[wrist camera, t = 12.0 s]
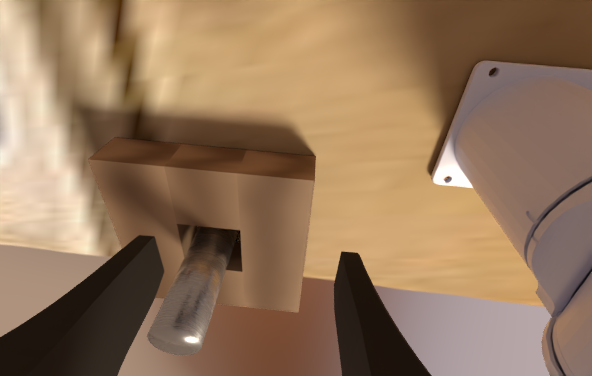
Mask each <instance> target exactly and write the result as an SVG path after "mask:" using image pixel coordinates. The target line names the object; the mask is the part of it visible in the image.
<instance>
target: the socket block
mask: <svg viewBox="0 0 592 376" xmlns="http://www.w3.org/2000/svg"><path fill="white" fill-rule="evenodd" d="M315 160H316V156H307V155H297V154H286V153H275V152H265V151H254V150H243V149H232V148H222V147H211V146H200V145H190V144H179V143H168V142H157V141H147V140H136V139H125V138H114V139H112V140H111V141H110V142H109V143H107V144H106V145H105V146H104V147H103V148H101V149H100V150H99V151H98V152H96V153H95V154H94V155H93V156H91V157H90V158H89V159H88V161H89V164H90V166H91V169H92V171H93V174H94V176H95V179H96V182H97V184H98V187H99V189H100V192H101V195H102V197H103V200H104V202H105V205H106V207H107V210H108V213H109V215H110V218H111V220H112V223H113V226H114V228H115V231H116V233H117V236H118V239H119V241H120V244H121V246H122V249H123V248H124V247H125V246H126V245H127V244H129V243H130V242H131V241H132V240H133V239H135V238H136V237H137V236H138V235H145V236H155V239H156V243H157V246H158V250H159V253H160V257H161V260H162V264H163V267H164V274H163V277H162V280H161V283H160V286H159V289H158V291H157V294H156V297H155V298H164V299H165V297H166V295H167V293H168V291H169V289H170V287H171V285H172V283H173V280H174V278H175V276H176V274H177V272H178V270H179V268H180V266H181V264H182V262H183V260H184V257H185V255H186V253H187V251H188V249H189V247H190V245H191V243H192V241H193V239H194V237H195V234H196V232H197V226H203V227H213V228H223V229H233V230H240V235H241V243H235V244H234V247H233V250H232V253H231V256H230V259H229V263H228V266H227V269H226V272H225V275H224V278H223V281H222V284H221V287H220V291H219V294H218V297H217V300H216V303H215V304H222V305H232V306H242V307H252V308H261V309H270V310H281V311H290V312H298V311H299V303H300V296H301V287H302V280H303V271H304V263H305V255H306V247H307V239H308V231H309V223H310V215H311V207H312V199H313V191H314V182H315Z"/></svg>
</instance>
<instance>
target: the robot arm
mask: <svg viewBox="0 0 592 376" xmlns="http://www.w3.org/2000/svg"><path fill="white" fill-rule="evenodd" d="M495 67H496V71H495V73H494V74H492V75H489V72H490V70H491V69H493V68H495ZM447 176H450V177H449V178H448V179H445V180H444V178H445V177H447ZM431 179H432V181H433V183H435V184H438V185H448V186H459V187H470V188H474V189H475V191H476V192H477V193H478V195H479V196H480V198H481V199H482V201H483V202H484V204H485V205H486V207H487V208H488V209H489V211H490V212H491V214H492V215H493V217H494V218H495V220H496V221H497V222H498V224H499V225H500V227H501V228H502V230H503V231H504V233H505V234H506V235H507V237H508V238H509V240H510V241H511V243H512V244H513V246H514V247H515V248H516V250H517V251H518V253H519V254H520V256H521V257H522V259H523V260H524V261H525V263H526V264H527V266H528V267H529V268H530V270H531V271H532V273H533V274H534V276H535V277H536V279H537V280H538V289H537V291H536V294H537V295H538V297H539V298H540V300H541V301H542V303H543V304H544V306H545V307H546V309H547V310H548V312H549V313H550V314H551V316H552V318H551V319H550V320H549V322H548V323H547V325H546V327H545V329H544V331H543V337H542V352H543V357H544V360H545V364H546V367H547V369H548V372H549V374H550V376H592V69H580V68H568V67H557V66H545V65H534V64H522V63H510V62H499V61H487V60H485V61H481V62H479V63H477V64H476V65H475V67H474V68H473V70H472V73H471V75H470V78H469V81H468V83H467V86H466V88H465V91H464V93H463V96H462V98H461V101H460V104H459V106H458V109H457V111H456V114H455V116H454V119H453V121H452V124H451V127H450V129H449V132H448V134H447V137H446V139H445V142H444V144H443V147H442V150H441V152H440V155H439V157H438V160H437V162H436V165H435V167H434V170H433V173H432V175H431ZM163 274H164V267H163V264H162V260H161V257H160V253H159V250H158V246H157V243H156V239H155V236H145V235H138V236H137V237H136V238H135V239H133V240H132V241H131V242H130V243H129V244H127V245H126V246H125V247H124V248H123V249H121V250H120V251H119V252H118V253H117V254H115V255H114V256H113V257H112V258H111V259H110V260H108V261H107V262H106V263H105V264H103V265H102V266H101V267H100V268H98V269H97V270H96V271H95V272H94V273H93V274H91V275H90V276H89V277H87V278H86V279H85V280H84V281H82V282H81V283H80V284H78V285H77V286H76V287H74V288H73V289H72V290H70V291H69V292H68V293H67V294H65V295H64V296H62V297H61V298H60V299H58V300H57V301H56V302H54V303H53V304H51V305H50V306H49V307H47V308H46V309H44V310H43V311H41V312H40V313H38V314H37V315H35V316H34V317H32V318H31V319H29V320H28V321H26V322H25V323H23V324H21V325H20V326H18V327H17V328H15V329H14V330H12V331H10V332H8V333H7V334H5V335H3V336H2V337H0V376H117V375H118V372H119V370H120V367H121V365H122V363H123V361H124V359H125V356H126V354H127V352H128V350H129V348H130V346H131V344H132V342H133V340H134V338H135V336H136V334H137V332H138V330H139V329H140V326H141V325H142V323H143V321H144V319H145V317H146V315H147V313H148V311H149V309H150V307H151V305H152V303H153V301H154V299H155V297H156V294H157V291H158V289H159V286H160V283H161V280H162V277H163ZM334 310H335V320H336V327H337V336H338V344H339V352H340V360H341V368H342V376H431V374H430V373H429V372H428V371H427V369H426V368H425V366H424V365H423V364H422V362H421V361H420V360H419V359H418V357H417V356H416V354H415V353H414V351H413V350H412V349H411V347H410V346H409V345H408V343H407V341H406V340H405V338H404V337H403V335H402V334H401V332H400V331H399V329H398V328H397V326H396V324H395V323H394V321H393V320H392V318H391V316H390V315H389V313H388V311H387V310H386V308H385V306H384V304H383V302H382V301H381V299H380V297H379V295H378V293H377V292H376V290H375V288H374V286H373V284H372V282H371V280H370V278H369V276H368V273H367V271H366V269H365V267H364V265H363V262H362V260H361V257H360V255H359V254H358V253H353V252H341V256H340V261H339V265H338V270H337V274H336V279H335V283H334Z"/></svg>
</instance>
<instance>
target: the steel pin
mask: <svg viewBox="0 0 592 376" xmlns="http://www.w3.org/2000/svg"><path fill="white" fill-rule="evenodd" d="M238 231H239V230H233V229H223V228H213V227H203V226H199V228H198V230H197V232H196V234H195V237H194V239H193V241H192V243H191V245H190V247H189V249H188V251H187V253H186V255H185V257H184V260H183V262H182V264H181V266H180V268H179V270H178V272H177V274H176V276H175V278H174V280H173V283H172V285H171V287H170V289H169V291H168V293H167V295H166V297H165V299H164V301H163V303H162V305H161V308H160V310H159V312H158V314H157V316H156V318H155V320H154V322H153V324H152V326H151V329H150V331H149V333H148V336H147V337H148V340H149V341H150V343H151V344H152V345H153V346H155V347H156V348H158V349H160V350H162V351H164V352H167V353H171V354H175V355H192V354H195V353H197V352H199V351H200V349H201V346H202V343H203V340H204V337H205V334H206V331H207V328H208V325H209V322H210V318H211V316H212V312H213V309H214V306H215V303H216V300H217V297H218V294H219V291H220V287H221V284H222V281H223V278H224V275H225V272H226V269H227V266H228V263H229V259H230V256H231V253H232V250H233V247H234V244H235V241H236V238H237V234H238Z"/></svg>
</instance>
